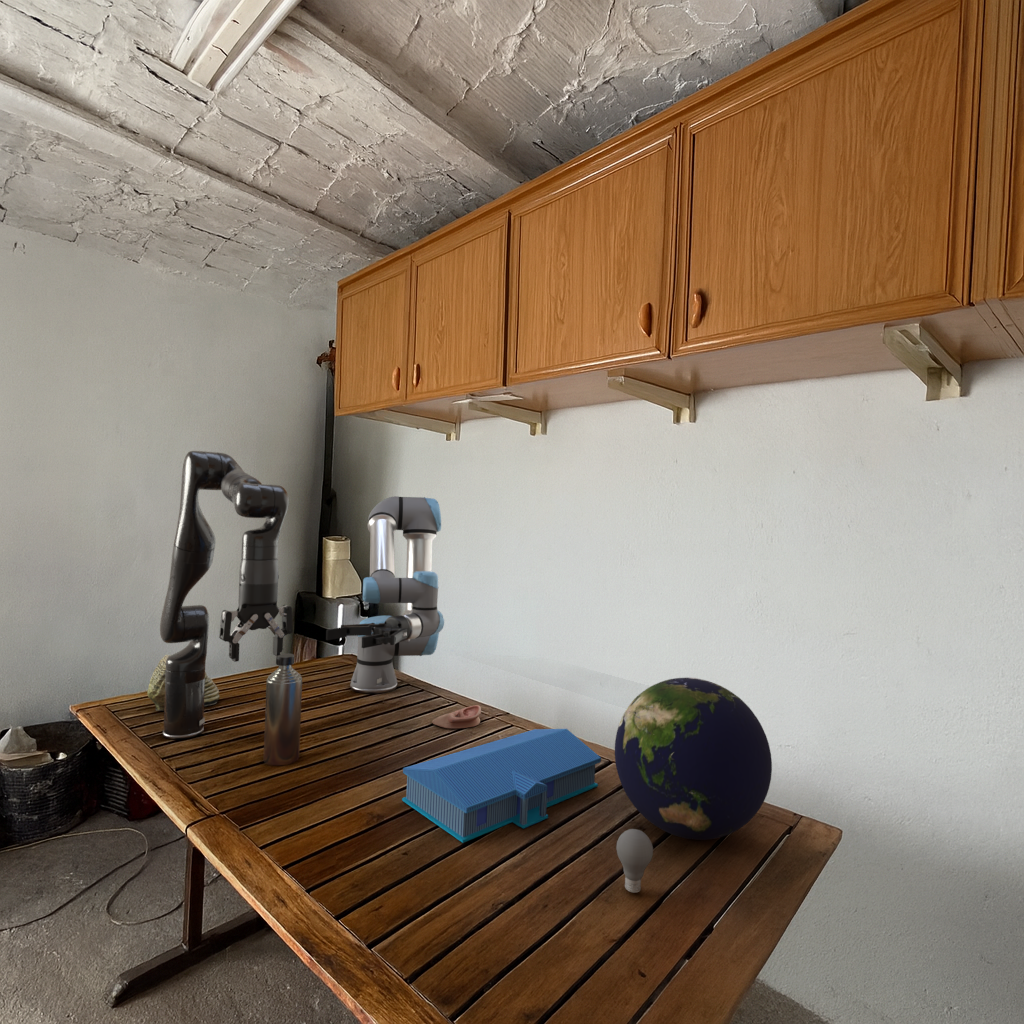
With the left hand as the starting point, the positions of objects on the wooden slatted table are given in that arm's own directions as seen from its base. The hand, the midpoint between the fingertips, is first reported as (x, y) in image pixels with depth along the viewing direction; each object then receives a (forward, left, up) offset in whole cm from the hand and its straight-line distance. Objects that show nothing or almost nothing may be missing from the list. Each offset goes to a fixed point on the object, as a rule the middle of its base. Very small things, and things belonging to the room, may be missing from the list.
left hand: (256, 657), depth 132 cm
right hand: (-17, +30, -3) cm, 34 cm away
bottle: (-15, +13, -29) cm, 35 cm away
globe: (+66, +61, -29) cm, 94 cm away
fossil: (-67, +6, -29) cm, 73 cm away
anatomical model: (-9, +62, -29) cm, 69 cm away
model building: (+33, +43, -29) cm, 62 cm away
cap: (-15, +13, -5) cm, 20 cm away
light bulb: (+71, +36, -29) cm, 85 cm away
